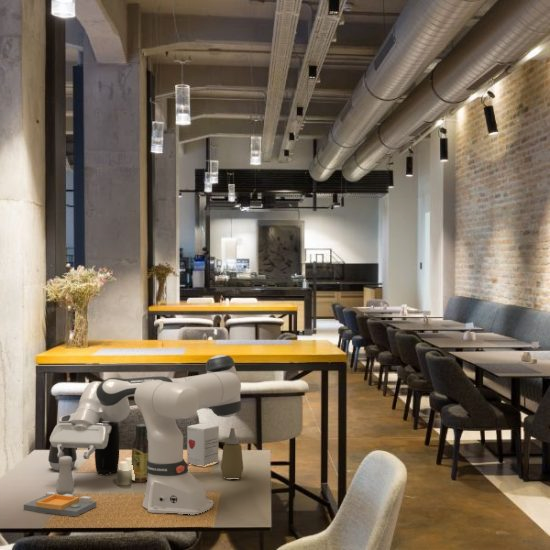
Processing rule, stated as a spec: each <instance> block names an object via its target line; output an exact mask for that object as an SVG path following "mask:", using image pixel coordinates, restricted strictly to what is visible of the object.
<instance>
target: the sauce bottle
mask: <svg viewBox="0 0 550 550" xmlns="http://www.w3.org/2000/svg"><path fill="white" fill-rule="evenodd" d="M147 460H148V435H147V429H146V425H145V423H138V424H136V425H135V439H134V442H133V444H132V447H131V463H132V464H131V465H133V470H134V474H135V482H136V483H144V482H147V481H146V480H147Z"/></svg>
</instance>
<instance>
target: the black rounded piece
mask: <svg viewBox="0 0 550 550" xmlns="http://www.w3.org/2000/svg"><path fill="white" fill-rule="evenodd" d="M76 449H77V448H67V447H64V448H63V450H62V449H61V450H62V451H63V453H64V456H70V457H72V463H71V464H70V465H71V469H73V467H74V466H75V464H76V461H77V458H78V457H77V450H76ZM48 451H49V453H48V458H47V459H48V460H47V461H48V462H49V463H48V464H49V465H50V468H52V470H54V471H56V472H59V471H60V466H61V465H60V464H59V458H58V456H57V454H58V452H59V451H58V447H53V446H52V444H51V443H50V447H49V450H48Z"/></svg>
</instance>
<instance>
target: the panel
mask: <svg viewBox="0 0 550 550" xmlns="http://www.w3.org/2000/svg"><path fill="white" fill-rule="evenodd" d="M94 507H95V508H96V507H97V501H94V500H93V499H92V496H85V495H83V496H81V497H80V496H75V494H72V495H71V494H65V495H58V494H57V492H54V491H48V492H46V493H45V495H43V496H41V497H38V498H36V499H35V500H31V501H29V502H27V503H25V504H23V511H29V512H36V511H37V513H45V514H52V515H58V514H60V516H65V515H67V517H72V516H74V517H75V518H77V517H78V515H79V516H81V515H83V514H85V513H86V512H88V510H89V511H90V509H91V510H93V509H95V508H94ZM92 508H93V509H92ZM84 512H85V513H84ZM82 513H83V514H82ZM80 514H81V515H80ZM76 516H77V517H76Z"/></svg>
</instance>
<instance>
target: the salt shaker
mask: <svg viewBox="0 0 550 550" xmlns="http://www.w3.org/2000/svg"><path fill="white" fill-rule="evenodd" d="M71 463H72V457H70V456H62V457H60V458H59V464H60V465H61V466H60V471H58V476H57V484H56V490H55V491H56V492H55V493H57V495H65V494H71V495H73V493H74V491H75V483H74V479H73V478H74V477H73V472H72V468H71V465H70V464H71Z"/></svg>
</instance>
